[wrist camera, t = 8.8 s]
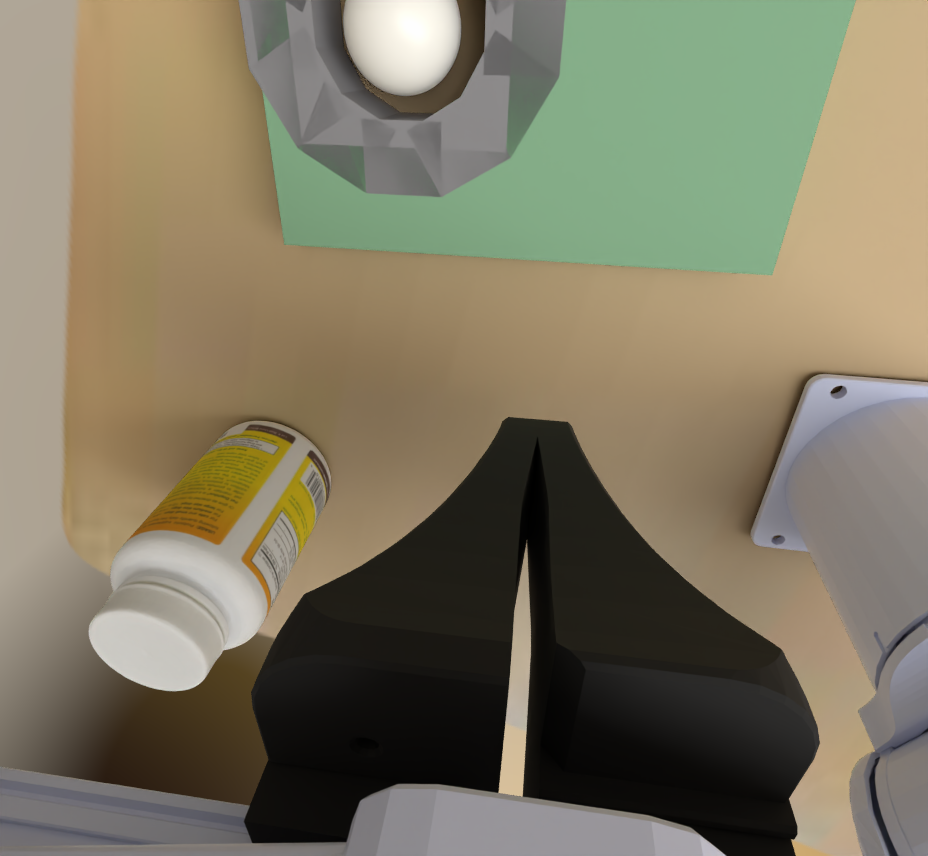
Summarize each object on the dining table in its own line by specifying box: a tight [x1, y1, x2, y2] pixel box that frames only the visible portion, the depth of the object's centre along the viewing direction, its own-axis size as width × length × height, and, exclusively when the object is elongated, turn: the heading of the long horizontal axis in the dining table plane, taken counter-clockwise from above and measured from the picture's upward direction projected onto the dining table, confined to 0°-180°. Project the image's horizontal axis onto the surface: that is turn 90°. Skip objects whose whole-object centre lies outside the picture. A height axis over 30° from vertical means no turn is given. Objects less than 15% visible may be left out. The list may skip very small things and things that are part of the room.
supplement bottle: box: [89, 421, 331, 691], centre depth 23 cm, size 6×6×10 cm
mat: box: [239, 0, 856, 275], centre depth 16 cm, size 15×12×2 cm
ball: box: [343, 0, 461, 96], centre depth 16 cm, size 3×3×3 cm
